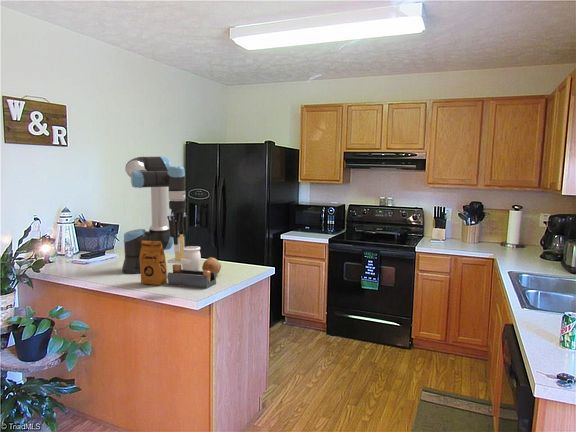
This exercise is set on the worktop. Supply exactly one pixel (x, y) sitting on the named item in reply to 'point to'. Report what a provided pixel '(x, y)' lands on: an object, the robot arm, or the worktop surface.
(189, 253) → the jar
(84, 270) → the worktop surface
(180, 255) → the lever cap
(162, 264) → the coffee package
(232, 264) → the worktop surface
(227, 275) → the worktop surface
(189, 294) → the worktop surface
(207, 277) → the dark grey tray
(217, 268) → the onion
